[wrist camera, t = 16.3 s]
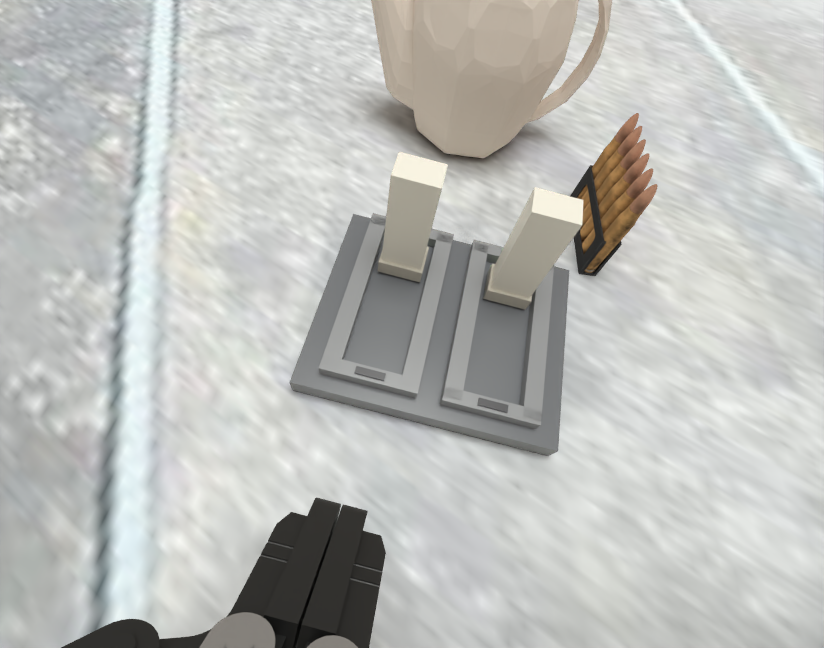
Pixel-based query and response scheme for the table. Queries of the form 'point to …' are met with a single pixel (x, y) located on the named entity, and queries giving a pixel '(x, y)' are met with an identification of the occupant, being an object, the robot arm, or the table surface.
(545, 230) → the tab
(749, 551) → the table surface
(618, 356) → the table surface
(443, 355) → the switch board
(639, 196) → the ammunition clip
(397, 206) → the tab
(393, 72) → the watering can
